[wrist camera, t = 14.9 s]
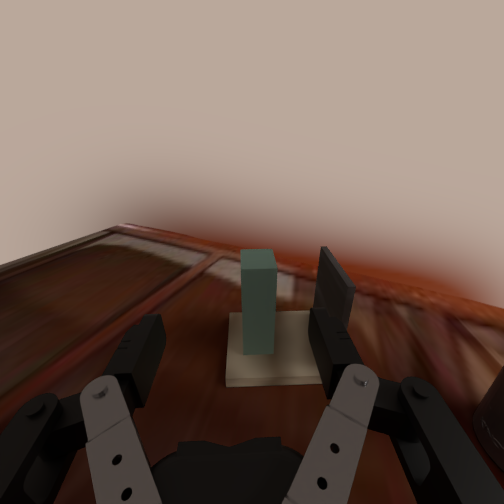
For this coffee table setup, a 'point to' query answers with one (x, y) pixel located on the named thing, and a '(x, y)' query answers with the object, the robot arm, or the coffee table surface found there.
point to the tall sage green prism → (258, 300)
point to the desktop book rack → (290, 335)
